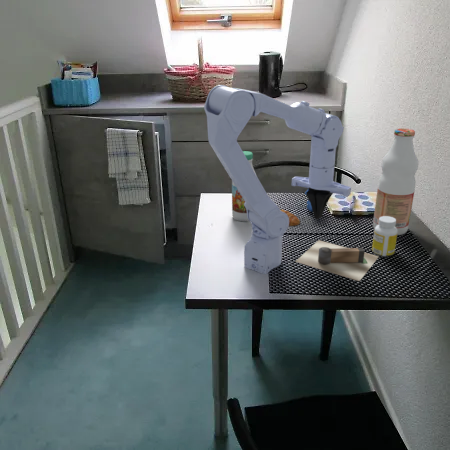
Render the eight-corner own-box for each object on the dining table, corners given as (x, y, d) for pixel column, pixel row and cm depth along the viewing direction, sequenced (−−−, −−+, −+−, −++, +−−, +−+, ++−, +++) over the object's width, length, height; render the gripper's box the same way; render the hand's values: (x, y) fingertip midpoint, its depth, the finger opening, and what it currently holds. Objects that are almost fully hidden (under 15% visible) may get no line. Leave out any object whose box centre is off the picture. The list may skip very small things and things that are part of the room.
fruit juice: (365, 226, 126) (377, 129, 114) (388, 219, 130) (402, 124, 118) (391, 239, 118) (407, 136, 107) (415, 231, 123) (433, 131, 111)
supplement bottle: (393, 250, 113) (398, 215, 109) (394, 260, 108) (400, 224, 104) (371, 248, 114) (375, 213, 110) (371, 258, 110) (376, 222, 105)
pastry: (304, 224, 129) (305, 212, 127) (291, 232, 124) (292, 220, 123) (277, 216, 134) (278, 204, 133) (264, 224, 130) (265, 212, 128)
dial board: (359, 284, 99) (359, 280, 98) (295, 265, 107) (295, 261, 107) (378, 259, 109) (379, 256, 108) (318, 243, 117) (318, 239, 117)
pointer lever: (319, 264, 105) (320, 251, 103) (317, 258, 108) (317, 245, 106) (363, 263, 105) (365, 251, 103) (360, 257, 107) (362, 245, 106)
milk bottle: (229, 213, 136) (227, 150, 128) (252, 210, 138) (252, 148, 130) (237, 223, 130) (236, 157, 121) (261, 219, 132) (262, 155, 123)
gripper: (358, 165, 103) (352, 218, 109) (301, 156, 111) (299, 206, 117) (346, 173, 98) (341, 228, 104) (288, 163, 106) (286, 215, 111)
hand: (318, 217), depth 110 cm, fingers closed
